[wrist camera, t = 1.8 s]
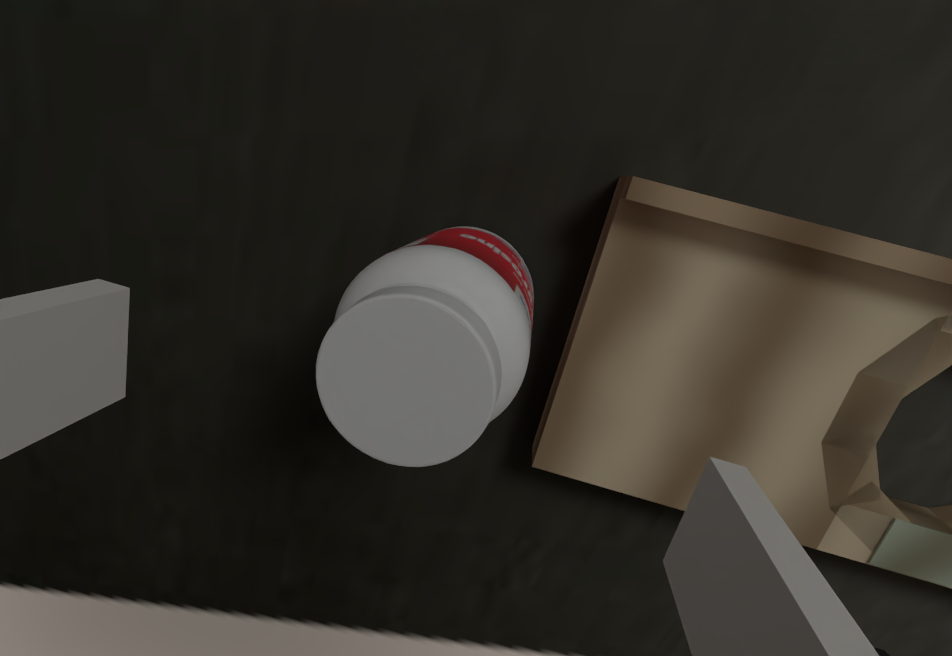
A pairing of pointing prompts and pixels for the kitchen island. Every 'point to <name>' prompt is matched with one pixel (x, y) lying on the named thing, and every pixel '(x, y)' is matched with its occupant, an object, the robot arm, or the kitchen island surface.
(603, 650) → the kitchen island surface
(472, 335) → the pill bottle
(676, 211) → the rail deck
